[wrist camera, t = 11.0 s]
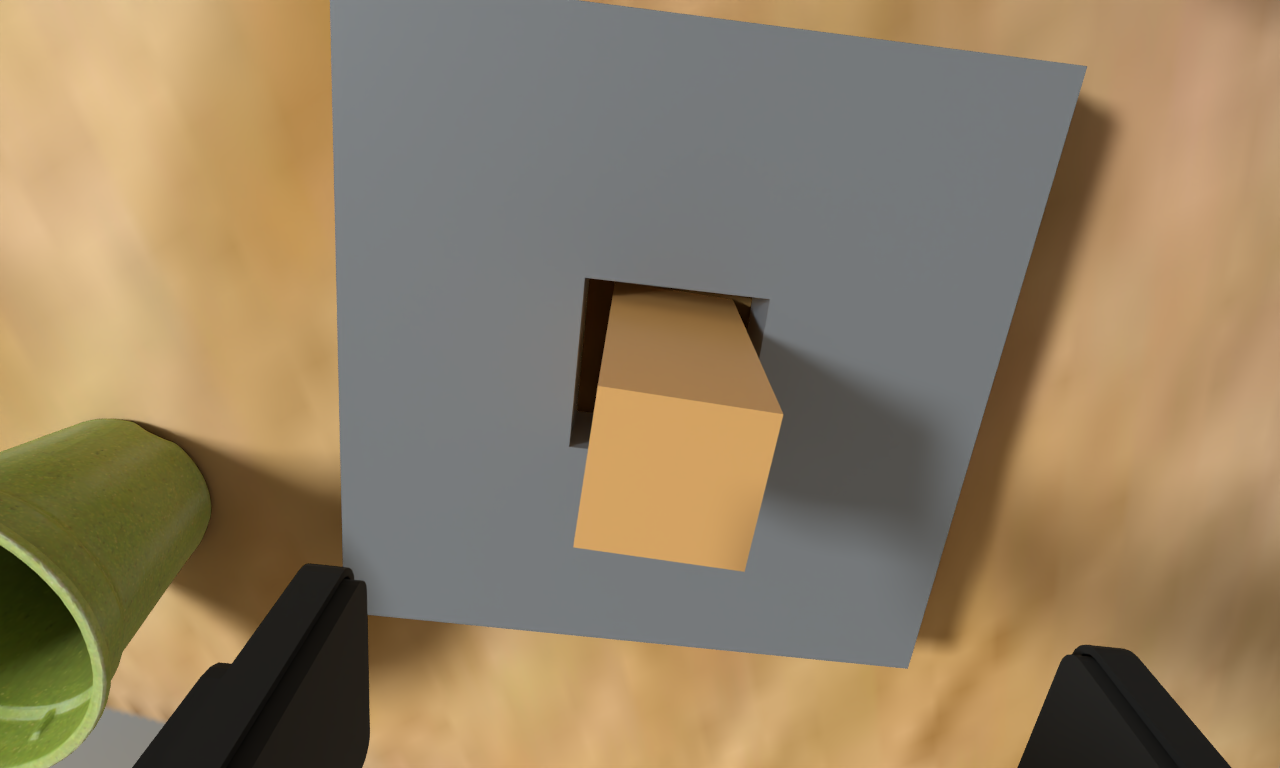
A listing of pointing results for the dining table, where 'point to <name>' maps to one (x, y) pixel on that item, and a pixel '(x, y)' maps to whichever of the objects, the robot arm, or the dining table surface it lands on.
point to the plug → (677, 432)
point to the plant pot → (83, 572)
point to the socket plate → (676, 258)
